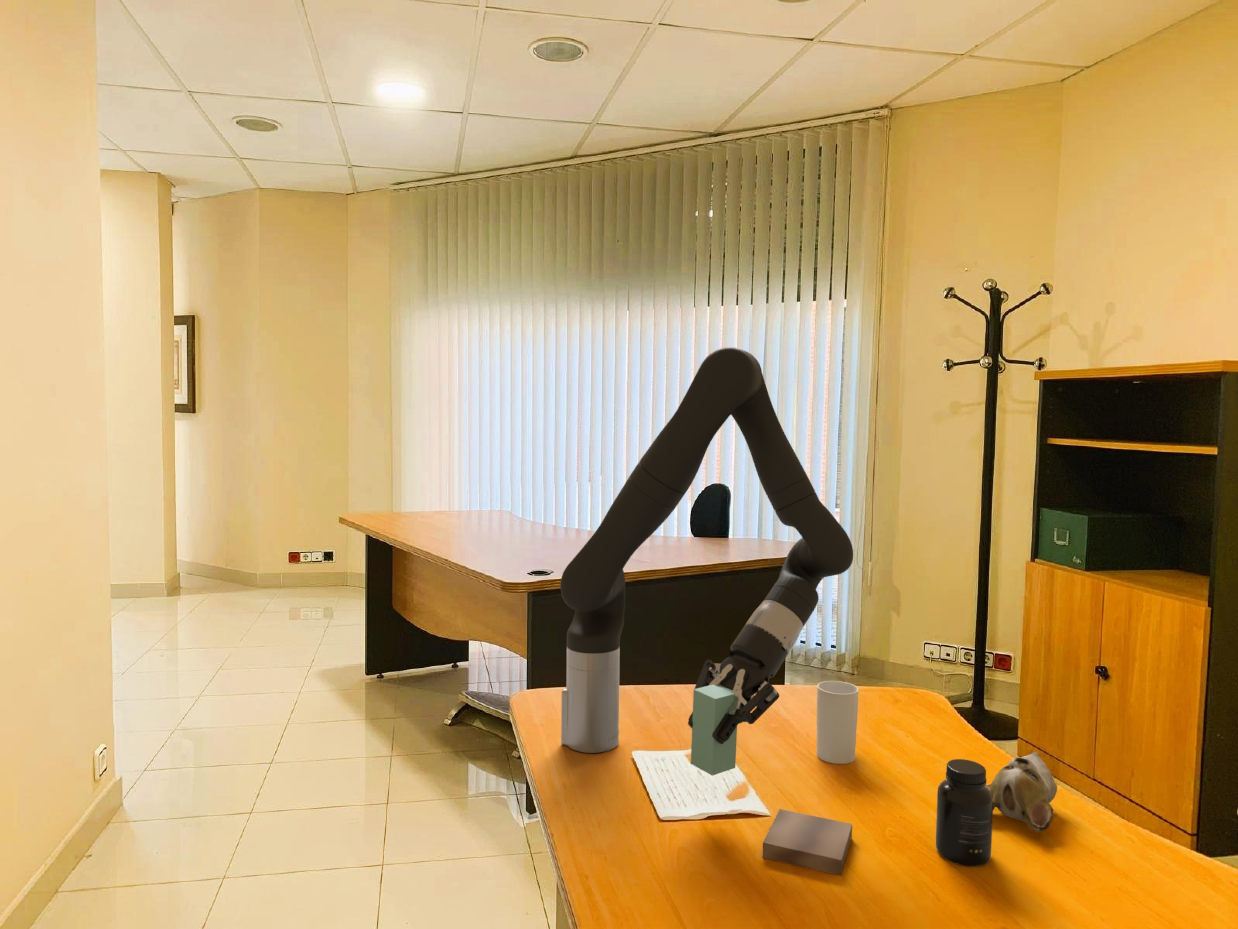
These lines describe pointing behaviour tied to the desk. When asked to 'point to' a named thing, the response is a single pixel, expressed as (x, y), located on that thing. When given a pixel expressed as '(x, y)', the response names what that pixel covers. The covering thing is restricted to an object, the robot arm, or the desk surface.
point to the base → (808, 841)
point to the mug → (836, 721)
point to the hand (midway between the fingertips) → (704, 733)
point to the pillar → (711, 730)
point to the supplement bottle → (964, 814)
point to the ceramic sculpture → (1025, 791)
